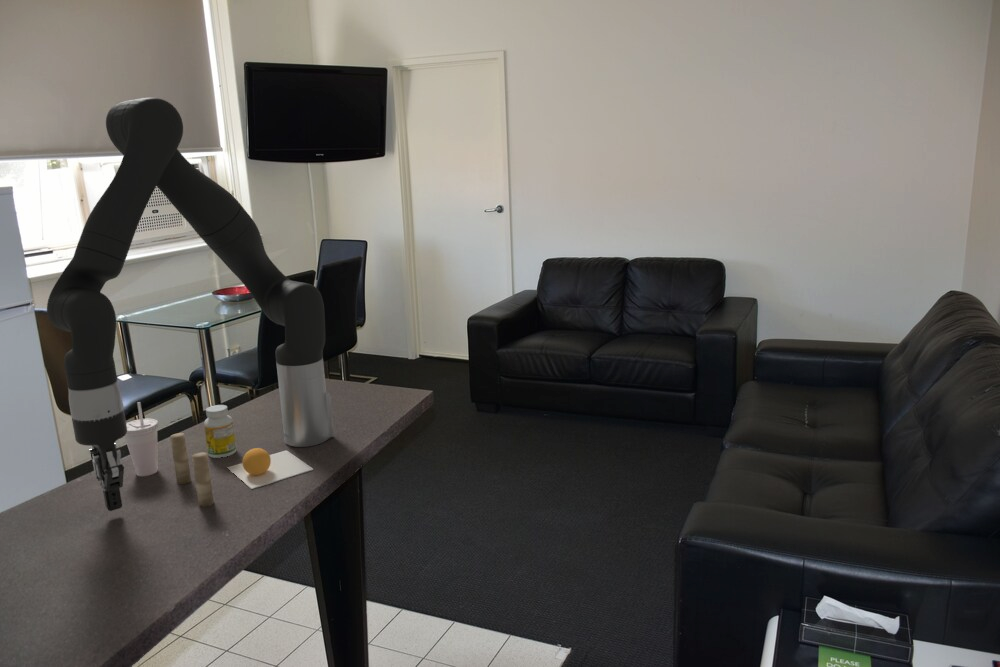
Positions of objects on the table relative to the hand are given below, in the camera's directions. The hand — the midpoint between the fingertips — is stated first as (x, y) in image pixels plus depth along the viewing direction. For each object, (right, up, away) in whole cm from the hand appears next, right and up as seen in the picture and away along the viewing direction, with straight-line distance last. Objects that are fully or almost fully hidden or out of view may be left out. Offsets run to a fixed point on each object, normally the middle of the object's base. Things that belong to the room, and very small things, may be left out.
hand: (114, 507), depth 125 cm
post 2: (+14, 0, +4) cm, 14 cm away
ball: (+19, +5, +14) cm, 25 cm away
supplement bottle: (+9, +5, +25) cm, 27 cm away
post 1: (+6, +2, +13) cm, 14 cm away
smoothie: (-3, +3, +17) cm, 18 cm away
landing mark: (+21, +3, +17) cm, 27 cm away
